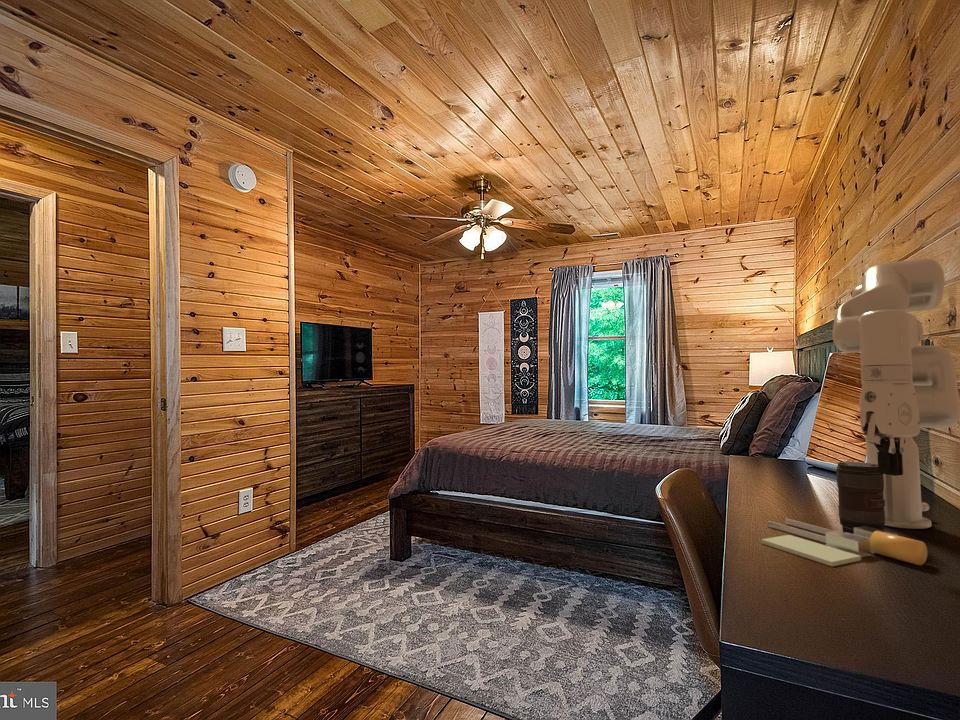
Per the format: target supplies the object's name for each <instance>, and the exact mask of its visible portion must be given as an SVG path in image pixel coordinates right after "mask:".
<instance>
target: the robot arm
mask: <svg viewBox="0 0 960 720" xmlns="http://www.w3.org/2000/svg"><path fill="white" fill-rule="evenodd" d="M944 288H945V273H944V269H943V267H942V265H941V264H940V263H939V262H938V261H936V260H935V259H933V258H928V257H927V258H918V259H909V260H908V259H907V260H901V261H892V262H885V263H880V264H876V265H873V266H871V267H870V268H868V269H867V270H866V271H865V272H864V274H863V275H862V278H861V284H860V285H858V286H856V287H855V288H854V289H853V291H852V293H851V298H850V299H848V300H847V301H845V302H843V303H842V304H840V306H839V307H838V308H837V309H836V312H835V314H834V319H833V323H832V325H833V326H832V341H833V344H834V346H835V348H836V349H837V350H839V351H840V352H843V353H850V354H851V353H859V356H860V357H859V358H860V359H859V360H860V381H861V382H860V383H861V391H860V395H859V396H860V397H859V419H860V420H859V421H860V422H859V423H860V429H861V433H863V434H864V435H865V438H864V439H865V452H866V463H872V464H878V472H879V473H880V474H883V478H884V491H883V499H884V500H885V506H884V511H885V524H884V527H885V526H886V527H887V526H888V527H891V528H900V529H911V530H912V529H913V530H916V529H917V530H924V529H928V528H931V527H932V521H931V520H930V519H929V518H927V517H924V516H923V512H926V511H929V509H930V505H929V504H928V503H927V502H925V501H924V502H923V501H922V489H921V470H920V467H921V466H920V452H919V447H918V444H917V443H916V441H915V440H914V439H913V438H912V437H917V436H918V435H920V433H921V428H927V429H928V428H929V429H947V428H952V427H954V426H956V425H957V423H958V422H959V421H960V397H959V396H960V395H959V389H958V381H957V374H956V373H957V372H956V366H955V360H954V357H953V355H952V352H950V350H949V349H947V348H946V347H944V346H939V345H919V344H920V343H921V341H923V337H924V328H923V323H922V321H921V320H919V319H918V318H917V317H916V316H915V315H913V314H911V312H923V311H931V310H934V309H936V308H937V307H939V306H940V304H941V303H942V300H943V297H944V290H945V289H944ZM908 312H909V313H908Z"/></svg>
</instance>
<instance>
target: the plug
mask: <svg viewBox="0 0 960 720" xmlns="http://www.w3.org/2000/svg"><path fill="white" fill-rule="evenodd" d="M846 533H847V532H846ZM849 534H851V533H849ZM852 535H855V534H852ZM856 536H859V535H856ZM860 537H863V536H860ZM864 538H867V537H864ZM868 539H870V546H871V554H873V555H874V554H878V555H879V556H883V557H884V556H885V557H888V558H891V559H895V560H898V561H902V562H906V563H910V564H912V565H916V566H923V565H924V564H925V563H926V561H927V559H928V547H927V545H926V543H925V542H924V541H921V540H919V539H918V540H917V539H913V538H909V537H905V536H902V535H898V536H897V535H893V534H889V533H885V532H881V531H874V532H873V533H872V535H871V537H870V538H868Z"/></svg>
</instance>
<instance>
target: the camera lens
mask: <svg viewBox="0 0 960 720" xmlns="http://www.w3.org/2000/svg"><path fill="white" fill-rule="evenodd" d="M835 470H836V486H837V492H838V493H837V494H838V517H839V523H840V525H841V528H842V529H841V530H842V532H845V533H846V532H847V533H851V534H854V528H855V527H860V526H868V527H872V528H876V529H880V530H884V531H885V525H884V524H885V511H884V506H885V500H884V499H883V491H884V478H883V474H880V473H879V472H878V464H872V463H867V462H859V461H857V462H856V461H855V462H854V461H841V462H837V466H836V469H835Z"/></svg>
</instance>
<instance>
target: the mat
mask: <svg viewBox="0 0 960 720" xmlns="http://www.w3.org/2000/svg"><path fill="white" fill-rule="evenodd" d="M761 544H762V545H766V546H768V547H771V548H774V549H777V550H780V551H784V552H787V553H789V554H793V555H796V556H798V557H802V558H805V559H808V560H811V561H813V562H817V563H821V564H823V565H826V566H829V567H836V566H842V565H845V564H849V563H850V564H851V563H855V562H860V561H862V557H861V556H860V555H856V554H853V553H849V552H846V551H843V550H839V549H836V548H832V547H829V546H826V544H821V543H818V542H815V541H812V540H808V539H806V538H803V537H802V538H801V537H798V536H795V535H793V534H791V535H790V534H785V535H779V536H774V537H773V536H772V537H767V538H762V539H761Z"/></svg>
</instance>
